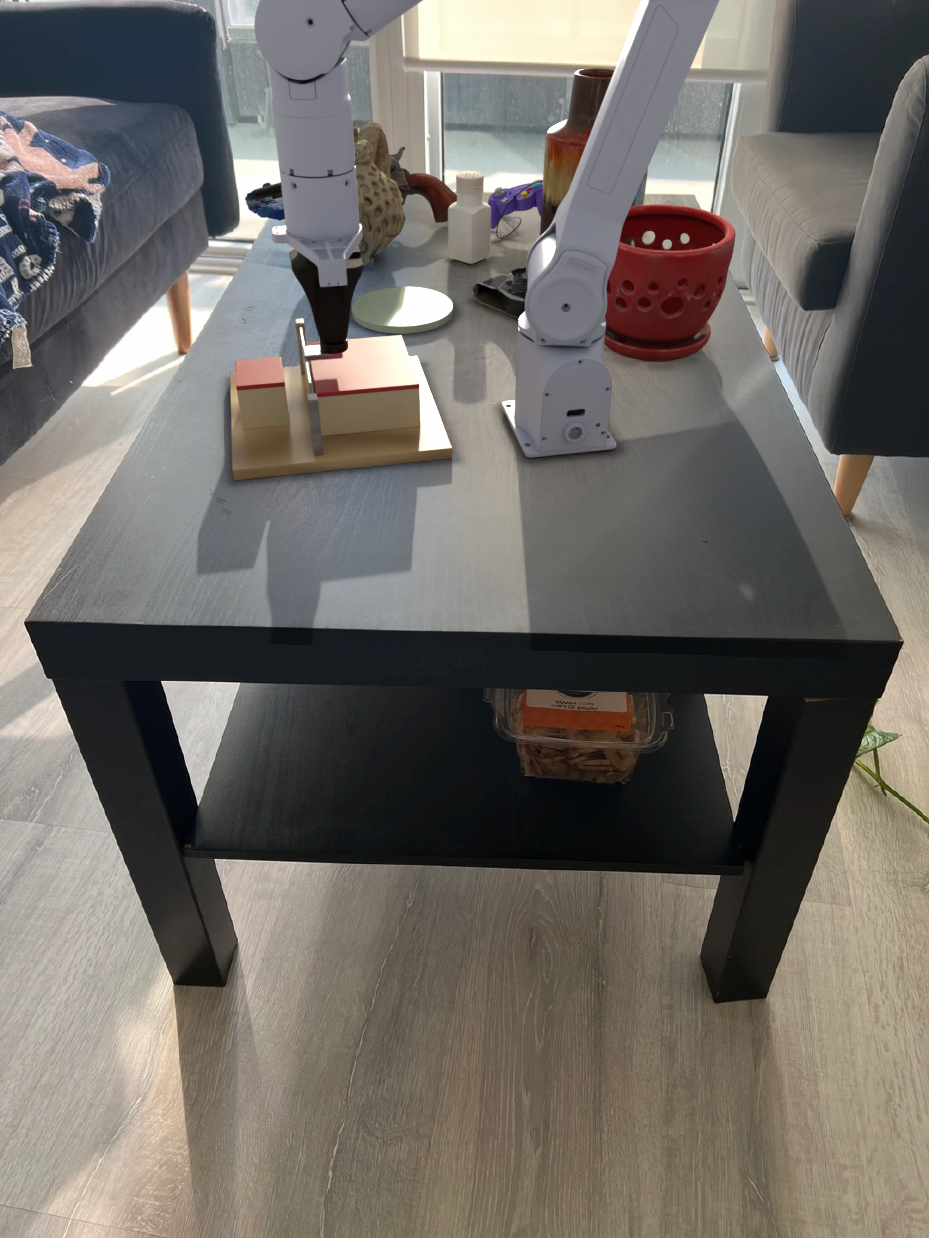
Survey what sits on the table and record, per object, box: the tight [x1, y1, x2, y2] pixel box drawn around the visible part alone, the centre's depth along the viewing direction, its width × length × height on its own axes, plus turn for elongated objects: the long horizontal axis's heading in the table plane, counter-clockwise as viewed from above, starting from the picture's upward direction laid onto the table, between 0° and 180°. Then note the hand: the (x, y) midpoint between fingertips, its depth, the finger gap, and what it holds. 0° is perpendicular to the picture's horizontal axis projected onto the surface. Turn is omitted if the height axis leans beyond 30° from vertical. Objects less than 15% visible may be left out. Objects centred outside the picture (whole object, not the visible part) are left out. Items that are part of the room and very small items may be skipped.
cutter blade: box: [300, 327, 349, 394], centre depth 80 cm, size 11×4×5 cm, turn 11°
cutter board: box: [229, 318, 453, 481], centre depth 81 cm, size 18×18×6 cm
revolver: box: [253, 146, 457, 224], centre depth 123 cm, size 26×4×12 cm
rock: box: [244, 189, 285, 222], centre depth 127 cm, size 15×17×2 cm
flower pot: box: [604, 203, 736, 363], centre depth 91 cm, size 13×13×12 cm
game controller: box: [487, 179, 543, 240], centre depth 120 cm, size 10×8×10 cm
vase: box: [539, 67, 637, 246], centre depth 106 cm, size 11×11×20 cm
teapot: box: [353, 120, 407, 266], centre depth 109 cm, size 21×12×15 cm, turn 170°
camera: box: [472, 266, 528, 320], centre depth 101 cm, size 5×10×4 cm, turn 42°
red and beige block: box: [306, 334, 421, 436], centre depth 82 cm, size 10×9×4 cm
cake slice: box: [234, 356, 290, 429], centre depth 80 cm, size 5×4×4 cm
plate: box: [351, 286, 454, 335], centre depth 101 cm, size 11×11×1 cm
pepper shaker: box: [447, 171, 492, 265], centre depth 111 cm, size 4×4×10 cm
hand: (333, 340), depth 79 cm, fingers closed, pressing on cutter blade
